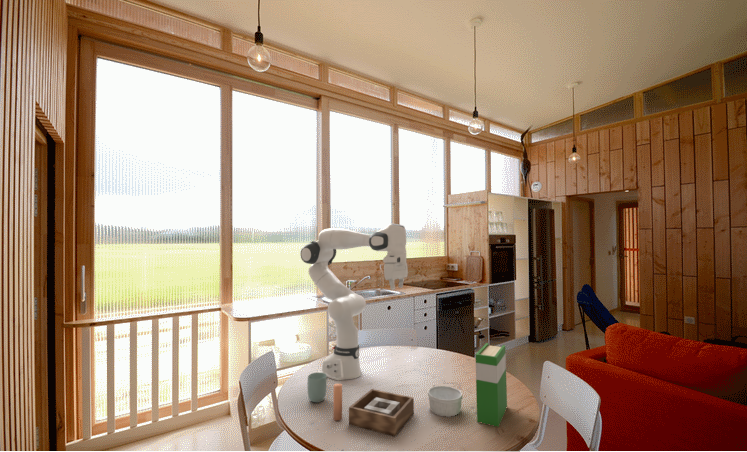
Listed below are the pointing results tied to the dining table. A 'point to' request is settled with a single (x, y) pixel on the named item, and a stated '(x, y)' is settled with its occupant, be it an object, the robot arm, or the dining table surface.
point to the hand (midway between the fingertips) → (396, 288)
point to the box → (381, 412)
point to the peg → (337, 402)
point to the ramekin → (445, 400)
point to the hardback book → (491, 384)
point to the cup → (317, 386)
